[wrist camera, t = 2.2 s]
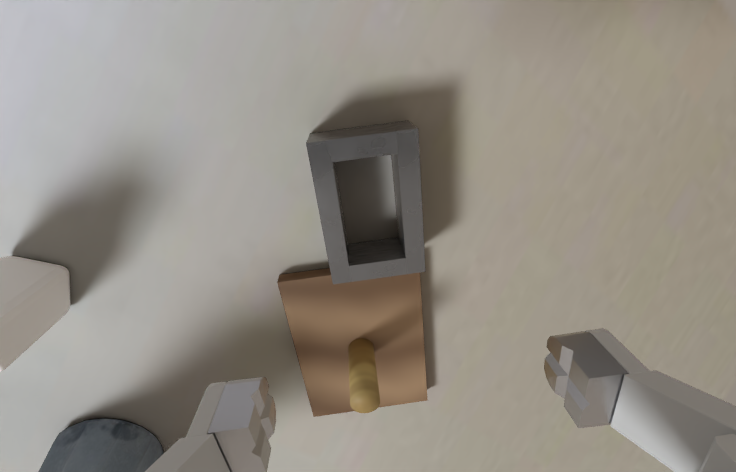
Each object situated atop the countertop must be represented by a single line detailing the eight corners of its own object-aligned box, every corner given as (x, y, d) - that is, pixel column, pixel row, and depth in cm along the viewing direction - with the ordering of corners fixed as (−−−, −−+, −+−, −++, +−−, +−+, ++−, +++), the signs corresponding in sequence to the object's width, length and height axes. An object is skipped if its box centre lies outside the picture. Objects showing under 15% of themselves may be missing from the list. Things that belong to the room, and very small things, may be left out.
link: (310, 133, 21) (306, 143, 19) (408, 120, 21) (418, 128, 19) (333, 261, 25) (332, 284, 23) (416, 249, 25) (425, 271, 23)
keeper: (279, 274, 25) (263, 330, 20) (416, 255, 26) (437, 306, 20) (314, 406, 32) (309, 476, 26) (424, 390, 32) (442, 457, 26)
